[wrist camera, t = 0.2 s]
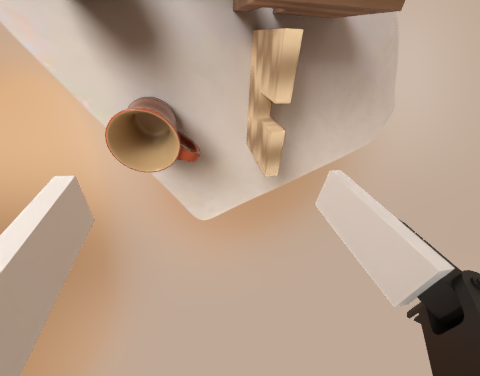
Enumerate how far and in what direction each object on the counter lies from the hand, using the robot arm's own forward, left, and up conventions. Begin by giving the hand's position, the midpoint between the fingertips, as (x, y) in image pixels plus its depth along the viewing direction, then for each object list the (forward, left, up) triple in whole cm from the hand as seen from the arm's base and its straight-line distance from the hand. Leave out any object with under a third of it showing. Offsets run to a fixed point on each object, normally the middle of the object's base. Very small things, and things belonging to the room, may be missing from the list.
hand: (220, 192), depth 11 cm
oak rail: (+1, +10, -28) cm, 29 cm away
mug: (+5, -6, -28) cm, 29 cm away
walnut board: (-11, +14, -28) cm, 33 cm away
